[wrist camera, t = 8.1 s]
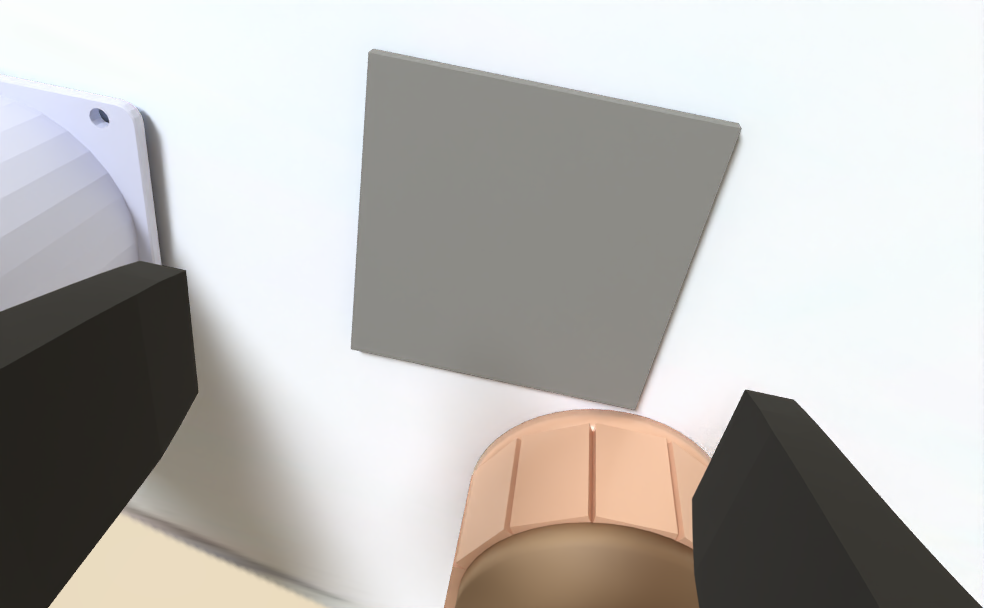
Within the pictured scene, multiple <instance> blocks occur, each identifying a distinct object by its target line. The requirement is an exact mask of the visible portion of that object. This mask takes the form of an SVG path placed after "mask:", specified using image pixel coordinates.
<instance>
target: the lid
mask: <svg viewBox="0 0 984 608" xmlns="http://www.w3.org/2000/svg"><path fill="white" fill-rule="evenodd" d="M455 608H699V603H698V597H697V590H696V583H695V576H694V560H693V549H692V548H690V547H689V546H686V545H684V544H682V543H680V542H678V541H675V540H673V539H671V538H668V537H665V536H662V535H660V534H657V533H654V532H650V531H646V530H642V529H638V528H634V527H629V526H623V525H616V524H608V523H592V522H583V523H563V524H554V525H547V526H543V527H538V528H533V529H529V530H526V531H523V532H520V533H517V534H514V535H512V536H510V537H507V538H505V539H503V540H501V541H499V542H497V543H496V544H494V545H492V546H491V547H489V548H488V549H486V550H485V551H484V552H483V553H481V554H480V555H479V556H478V557H477V558H476V559H475V560H474V561H473V562H472V563H471V565H470V566H469V567H468V568H467V570H466V572H465V574H464V575H463V577H462V579H461V583H460V586H459V589H458V594H457V599H456V605H455Z"/></svg>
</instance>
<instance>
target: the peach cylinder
mask: <svg viewBox="0 0 984 608" xmlns="http://www.w3.org/2000/svg"><path fill="white" fill-rule="evenodd" d="M710 461H711V458H710V457H709V456H708V455H707V454H706V452H705V451H703V450H702V449H701V448H700V447H699V446H698V445H697V444H696V443H695V442H693V441H692V440H690V439H689V438H687V437H686V436H685V435H683V434H682V433H680V432H678V431H676V430H674V429H672V428H671V427H669V426H667V425H665V424H662V423H660V422H657V421H654V420H652V419H649V418H646V417H642V416H638V415H635V414H631V413H625V412H619V411H613V410H600V409H581V410H569V411H562V412H555V413H551V414H547V415H543V416H539V417H537V418H534V419H531V420H529V421H526V422H524V423H522V424H520V425H518V426H516V427H514V428H512V429H510V430H509V431H507V432H506V433H504V434H503V435H501V436H500V437H499V438H497V439H496V440H495V441H494V442H493V443H492V444H491V445H490V446H489V447H488V448H487V449H486V450H485V452H484V453H483V454H482V456H481V457H480V459H479V461H478V462H477V464H476V466H475V468H474V471H473V474H472V477H471V481H470V486H469V491H468V496H467V500H466V505H465V510H464V514H463V519H462V524H461V529H460V533H459V538H458V543H457V548H456V553H455V557H454V562H453V567H452V572H451V576H450V581H449V586H448V591H447V595H446V600H445V605H444V608H455V605H456V599H457V594H458V589H459V586H460V583H461V579H462V577H463V575H464V574H465V572H466V570H467V568H468V567H469V566H470V565H471V563H472V562H473V561H474V560H475V559H476V558H477V557H478V556H479V555H480V554H481V553H483V552H484V551H485V550H486V549H488V548H489V547H491V546H492V545H494V544H496V543H497V542H499V541H501V540H503V539H505V538H507V537H510V536H512V535H514V534H517V533H520V532H523V531H526V530H529V529H533V528H538V527H543V526H547V525H554V524H563V523H583V522H592V523H608V524H616V525H623V526H629V527H634V528H638V529H642V530H646V531H650V532H654V533H657V534H660V535H662V536H665V537H668V538H671V539H673V540H675V541H678V542H680V543H682V544H684V545H686V546H689V547H690V548H692V549H693V536H692V497H693V495H694V493H695V491H696V489H697V487H698V485H699V483H700V481H701V479H702V477H703V475H704V473H705V471H706V469H707V467H708V465H709V463H710Z"/></svg>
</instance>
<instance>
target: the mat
mask: <svg viewBox="0 0 984 608" xmlns="http://www.w3.org/2000/svg"><path fill="white" fill-rule="evenodd" d="M740 131H741V127H740V125H739V123H734V122H729V121H725V120H720V119H715V118H710V117H705V116H700V115H695V114H690V113H685V112H680V111H676V110H671V109H666V108H661V107H656V106H651V105H646V104H641V103H636V102H631V101H627V100H622V99H617V98H612V97H607V96H602V95H597V94H592V93H587V92H582V91H578V90H573V89H568V88H563V87H558V86H553V85H548V84H543V83H538V82H533V81H529V80H524V79H519V78H514V77H509V76H504V75H499V74H494V73H489V72H484V71H480V70H475V69H470V68H465V67H460V66H455V65H450V64H445V63H440V62H435V61H431V60H426V59H421V58H416V57H411V56H406V55H401V54H396V53H391V52H386V51H382V50H377V49H372V50H371V51H370V52H369V53H368V70H367V86H366V103H365V120H364V136H363V153H362V170H361V187H360V203H359V220H358V237H357V254H356V270H355V287H354V304H353V321H352V337H351V349H352V350H357V351H362V352H366V353H371V354H376V355H380V356H385V357H390V358H394V359H399V360H404V361H408V362H413V363H418V364H422V365H427V366H432V367H436V368H441V369H446V370H450V371H455V372H460V373H464V374H469V375H474V376H478V377H483V378H488V379H492V380H497V381H502V382H507V383H511V384H516V385H521V386H525V387H530V388H535V389H539V390H544V391H549V392H553V393H558V394H563V395H567V396H572V397H577V398H581V399H586V400H591V401H595V402H600V403H605V404H609V405H614V406H619V407H623V408H628V409H633V410H635V409H636V406H637V403H638V401H639V398H640V396H641V393H642V390H643V388H644V385H645V382H646V380H647V377H648V374H649V372H650V369H651V366H652V364H653V361H654V359H655V356H656V353H657V351H658V348H659V345H660V343H661V340H662V337H663V335H664V332H665V329H666V327H667V324H668V321H669V319H670V316H671V314H672V311H673V308H674V306H675V303H676V300H677V298H678V295H679V292H680V290H681V287H682V284H683V282H684V279H685V277H686V274H687V271H688V269H689V266H690V263H691V261H692V258H693V255H694V253H695V250H696V247H697V245H698V242H699V240H700V237H701V234H702V232H703V229H704V226H705V224H706V221H707V218H708V216H709V213H710V210H711V208H712V205H713V203H714V200H715V197H716V195H717V192H718V189H719V187H720V184H721V181H722V179H723V176H724V173H725V171H726V168H727V166H728V163H729V160H730V158H731V155H732V152H733V150H734V147H735V144H736V142H737V139H738V136H739V134H740Z"/></svg>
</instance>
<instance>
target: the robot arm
mask: <svg viewBox="0 0 984 608" xmlns="http://www.w3.org/2000/svg"><path fill="white" fill-rule="evenodd" d="M99 109H100V110H102V111H104V112H105V114H106V115H107V116H108V119H109V123H107V122H105V121H104V120H103V119H102V118H101V116H100V114H99ZM197 394H198V383H197V374H196V364H195V354H194V344H193V335H192V325H191V315H190V306H189V296H188V286H187V276H186V270H181V269H177V268H172V267H167V266H163V265H162V264H161V256H160V248H159V241H158V233H157V225H156V217H155V209H154V201H153V193H152V185H151V177H150V169H149V161H148V153H147V145H146V137H145V129H144V122H143V118H142V115H141V113H140V112H139V111H138V109H137V108H136V107H135V106H134V105H133V104H131V103H130V102H128V101H125V100H122V99H117V98H113V97H108V96H103V95H98V94H93V93H88V92H84V91H79V90H74V89H69V88H64V87H59V86H55V85H50V84H45V83H40V82H35V81H31V80H26V79H21V78H16V77H11V76H6V75H2V74H0V608H48V607H49V606H50V604H51V603H52V602H53V601H54V599H55V598H56V597H57V595H58V594H59V592H60V591H61V590H62V589H63V587H64V586H65V585H66V584H67V582H68V581H69V580H70V578H71V577H72V575H73V574H74V573H75V572H76V570H77V569H78V567H79V566H80V565H81V564H82V562H83V561H84V560H85V559H86V557H87V556H88V555H89V553H90V552H91V551H92V549H93V548H94V547H95V545H96V544H97V543H98V541H99V540H100V539H101V538H102V536H103V535H104V534H105V532H106V531H107V530H108V528H109V527H110V526H111V524H112V523H113V522H114V521H115V519H116V518H117V517H118V515H119V514H120V513H121V511H122V510H123V509H124V507H125V506H126V505H127V503H128V502H129V501H130V499H131V498H132V497H133V495H134V494H135V493H136V491H137V490H138V489H139V487H140V486H141V485H142V483H143V482H144V481H145V479H146V478H147V477H148V475H149V474H150V473H151V471H152V470H153V468H154V467H155V466H156V464H157V463H158V462H159V460H160V459H161V457H162V456H163V454H164V452H165V451H166V449H167V447H168V446H169V444H170V442H171V440H172V439H173V437H174V435H175V434H176V432H177V430H178V429H179V427H180V425H181V423H182V421H183V419H184V418H185V416H186V414H187V412H188V410H189V408H190V407H191V405H192V403H193V401H194V399H195V397H196V395H197ZM692 536H693V560H694V576H695V583H696V590H697V597H698V603H699V608H983V607H982V606H981V605H980V604H979V603H978V602H977V601H976V600H975V599H974V598H973V597H972V596H971V595H970V594H969V593H968V592H967V591H966V590H965V589H964V588H963V587H962V586H961V585H960V584H959V583H958V582H957V580H956V579H955V578H954V577H953V576H952V575H951V574H950V573H949V572H948V571H947V570H946V569H945V568H944V567H943V565H942V564H941V563H940V562H939V561H938V560H937V559H936V558H935V557H934V556H933V555H932V554H931V553H930V551H929V550H928V549H927V548H926V547H925V546H924V545H923V544H922V543H921V542H920V540H919V539H918V538H917V537H916V536H915V535H914V534H913V533H912V532H911V530H910V529H909V528H908V527H907V526H906V525H905V524H904V523H903V522H902V520H901V519H900V518H899V517H898V516H897V515H896V514H895V513H894V511H893V510H892V509H891V508H890V507H889V506H888V505H887V503H886V502H885V501H884V500H883V499H882V498H881V497H880V496H879V494H878V493H877V492H876V491H875V490H874V489H873V488H872V486H871V485H870V484H869V483H868V482H867V481H866V480H865V478H864V477H863V476H862V475H861V474H860V473H859V471H858V470H857V469H856V468H855V467H854V466H853V465H852V463H851V462H850V461H849V460H848V459H847V458H846V457H845V455H844V454H843V453H842V452H841V451H840V450H839V448H838V447H837V446H836V445H835V444H834V443H833V442H832V440H831V439H830V438H829V437H828V436H827V435H826V434H825V433H824V431H823V430H822V429H821V428H820V427H819V426H818V425H817V424H816V422H815V421H814V420H813V419H812V418H811V417H810V416H809V415H808V414H807V413H806V412H805V411H804V410H803V409H802V408H801V407H800V405H799V404H798V403H797V402H796V401H795V400H793V399H788V398H783V397H778V396H774V395H769V394H764V393H760V392H755V391H750V390H745V391H744V393H743V395H742V397H741V399H740V401H739V403H738V406H737V408H736V410H735V412H734V414H733V416H732V418H731V420H730V422H729V424H728V426H727V428H726V430H725V432H724V434H723V436H722V438H721V440H720V442H719V444H718V446H717V448H716V450H715V453H714V455H713V457H712V459H711V461H710V463H709V465H708V467H707V469H706V471H705V473H704V475H703V477H702V479H701V481H700V483H699V485H698V487H697V489H696V491H695V493H694V495H693V497H692Z"/></svg>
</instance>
